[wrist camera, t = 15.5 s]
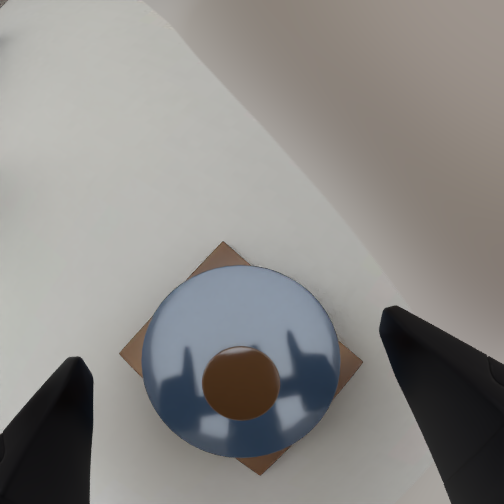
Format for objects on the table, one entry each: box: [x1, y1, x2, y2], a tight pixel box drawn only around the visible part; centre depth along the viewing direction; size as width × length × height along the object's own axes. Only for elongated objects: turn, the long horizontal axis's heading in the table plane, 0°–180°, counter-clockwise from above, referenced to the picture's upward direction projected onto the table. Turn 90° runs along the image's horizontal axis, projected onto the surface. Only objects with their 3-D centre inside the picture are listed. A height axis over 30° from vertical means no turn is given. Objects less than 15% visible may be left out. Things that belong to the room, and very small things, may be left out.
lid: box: [141, 265, 341, 458], centre depth 14 cm, size 12×12×9 cm
